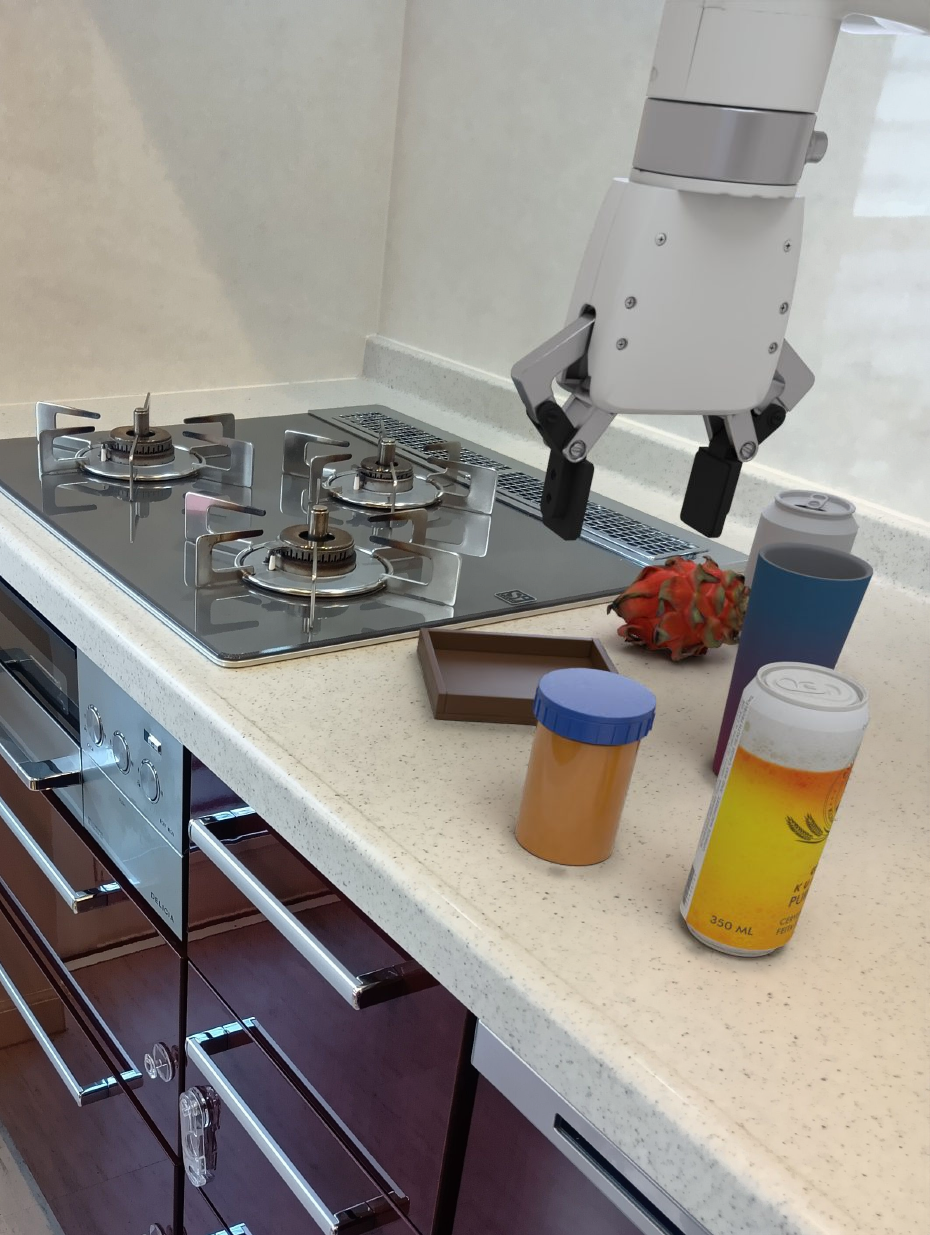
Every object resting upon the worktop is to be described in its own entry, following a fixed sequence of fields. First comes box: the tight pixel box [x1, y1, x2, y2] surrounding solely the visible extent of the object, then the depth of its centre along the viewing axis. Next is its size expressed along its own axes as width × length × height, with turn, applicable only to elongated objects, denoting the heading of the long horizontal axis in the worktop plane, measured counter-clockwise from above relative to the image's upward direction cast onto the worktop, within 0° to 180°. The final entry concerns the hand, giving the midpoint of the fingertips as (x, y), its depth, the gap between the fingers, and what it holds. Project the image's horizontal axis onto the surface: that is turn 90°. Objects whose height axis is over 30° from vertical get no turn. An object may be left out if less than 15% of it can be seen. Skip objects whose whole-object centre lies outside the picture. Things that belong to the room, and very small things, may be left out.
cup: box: [711, 542, 874, 776], centre depth 85 cm, size 7×7×15 cm
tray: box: [416, 627, 620, 726], centre depth 98 cm, size 14×12×2 cm
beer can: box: [679, 662, 871, 958], centre depth 69 cm, size 6×6×15 cm
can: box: [737, 488, 859, 639], centre depth 107 cm, size 8×8×12 cm
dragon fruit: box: [606, 554, 751, 662], centre depth 105 cm, size 8×8×12 cm
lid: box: [532, 668, 658, 745], centre depth 75 cm, size 7×7×2 cm
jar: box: [514, 720, 642, 866], centre depth 77 cm, size 6×6×9 cm
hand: (630, 529), depth 69 cm, fingers open, 7 cm apart
